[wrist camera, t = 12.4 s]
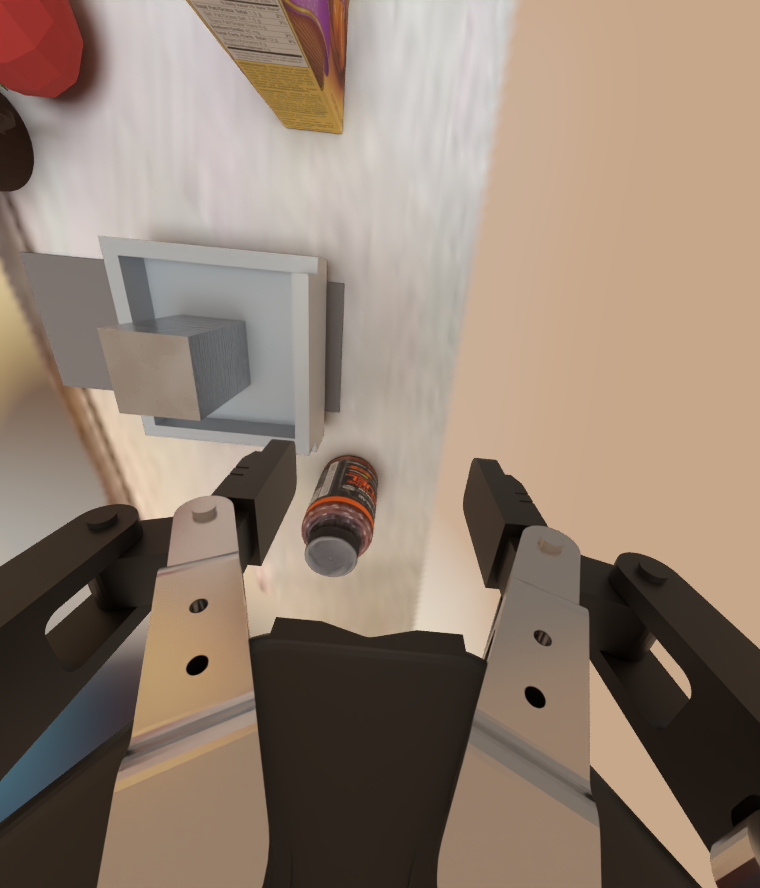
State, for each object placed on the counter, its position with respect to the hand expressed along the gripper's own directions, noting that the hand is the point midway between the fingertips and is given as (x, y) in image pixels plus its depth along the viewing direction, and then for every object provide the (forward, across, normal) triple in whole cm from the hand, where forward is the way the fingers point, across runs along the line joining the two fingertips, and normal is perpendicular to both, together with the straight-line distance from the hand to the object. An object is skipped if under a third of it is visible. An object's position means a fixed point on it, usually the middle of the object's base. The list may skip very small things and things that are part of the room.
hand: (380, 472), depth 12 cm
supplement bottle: (+20, +3, +13) cm, 24 cm away
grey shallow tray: (+20, +12, 0) cm, 23 cm away
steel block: (+17, +14, 0) cm, 21 cm away
